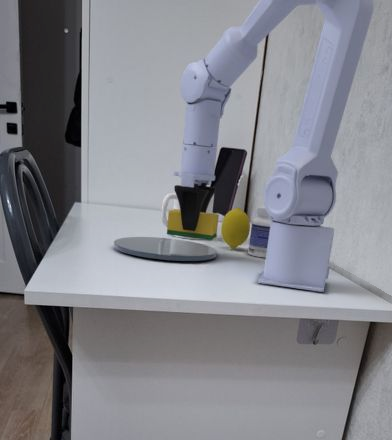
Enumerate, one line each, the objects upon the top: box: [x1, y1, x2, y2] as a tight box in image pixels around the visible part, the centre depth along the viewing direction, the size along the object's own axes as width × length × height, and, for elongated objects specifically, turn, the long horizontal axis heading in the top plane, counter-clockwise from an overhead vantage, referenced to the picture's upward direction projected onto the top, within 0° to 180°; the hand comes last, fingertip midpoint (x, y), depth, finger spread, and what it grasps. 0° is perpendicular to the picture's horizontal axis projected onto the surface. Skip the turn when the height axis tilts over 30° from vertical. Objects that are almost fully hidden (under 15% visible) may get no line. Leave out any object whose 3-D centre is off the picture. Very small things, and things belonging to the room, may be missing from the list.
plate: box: [113, 236, 218, 262], centre depth 95 cm, size 18×18×1 cm
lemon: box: [220, 207, 251, 250], centre depth 106 cm, size 6×6×8 cm
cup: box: [160, 192, 215, 241], centre depth 115 cm, size 8×12×10 cm
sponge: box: [166, 208, 220, 241], centre depth 95 cm, size 8×4×4 cm, turn 77°
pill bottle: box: [247, 205, 271, 259], centre depth 102 cm, size 5×5×9 cm
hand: (192, 228), depth 95 cm, fingers closed on sponge, 4 cm apart
